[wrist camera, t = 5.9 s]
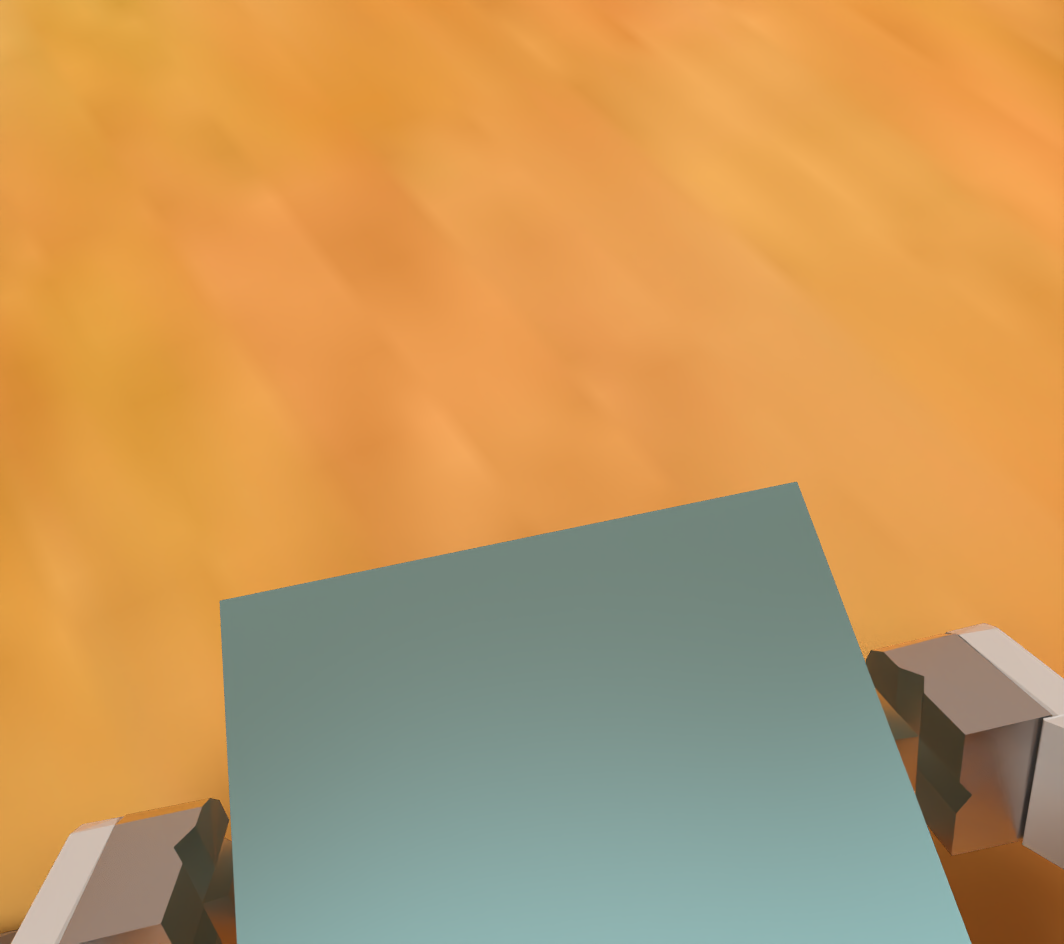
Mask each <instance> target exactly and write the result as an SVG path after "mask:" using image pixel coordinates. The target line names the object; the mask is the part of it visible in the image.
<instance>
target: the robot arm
mask: <svg viewBox="0 0 1064 944" xmlns="http://www.w3.org/2000/svg"><path fill="white" fill-rule="evenodd" d="M866 666H867V668H868V671H869V674H870V676H871V679H872V682H873V684H874V687H875V690H876V692H877V695H878V698H879V700H880V703H881V705H882V708H883V711H884V713H885V716H886V719H887V721H888V724H889V727H890V729H891V732H892V735H893V737H894V740H895V742H896V745H897V748H898V750H899V753H900V756H901V758H902V761H903V764H904V766H905V769H906V772H907V774H908V777H909V780H910V782H911V785H912V787H913V790H914V791H915V795H916V798H917V801H918V803H919V806H920V809H921V811H922V814H923V817H924V819H925V822H926V824H927V825H928V827H929V828H930V829H931V830H932V832H933V833H934V834H935V835H936V837H937V838H938V839H939V840H940V842H941V843H942V844H943V846H944V847H945V848H946V849H947V851H948V852H949V853H950V854H951V856H953V855H957V854H962V853H967V852H971V851H976V850H981V849H985V848H990V847H994V846H999V845H1004V844H1008V843H1013V842H1018V841H1022V840H1023V843H1022V845H1024V846H1025V847H1027V848H1029V849H1030V850H1032V851H1034V852H1035V853H1037V854H1039V855H1040V856H1042V857H1044V858H1046V859H1047V860H1049V861H1051V862H1052V863H1054V864H1056V865H1057V866H1059V867H1061V868H1062V869H1064V679H1063V678H1062V677H1061V676H1059V675H1058V674H1057V673H1056V672H1054V671H1053V670H1052V669H1050V668H1049V667H1048V666H1046V665H1045V664H1044V663H1043V662H1041V661H1040V660H1039V659H1037V658H1036V657H1035V656H1034V655H1032V654H1031V653H1030V652H1028V651H1027V650H1026V649H1024V648H1023V647H1022V646H1021V645H1019V644H1018V643H1017V642H1015V641H1014V640H1013V639H1012V638H1010V637H1009V636H1008V635H1006V634H1005V633H1004V632H1002V631H1001V630H1000V629H999V628H997V627H995V626H992V625H989V624H986V623H983V624H978V625H974V626H970V627H966V628H962V629H958V630H954V631H949V632H946V633H945V634H939V635H935V636H930V637H926V638H922V639H917V640H913V641H909V642H904V643H900V644H896V645H892V646H887V647H883V648H879V649H874V650H871V651H870V653H869V655H868V657H867V659H866ZM228 822H229V819H228V817H227V815H226V813H225V811H224V809H223V807H222V805H221V803H220V801H219V800H216V799H211V798H208V799H203V800H198V801H193V802H188V803H183V804H178V805H173V806H168V807H163V808H158V809H153V810H148V811H143V812H138V813H133V814H128V815H125V816H124V817H118V818H113V819H108V820H102V821H97V822H92V823H87V824H82V825H81V826H80V827H78V828H77V829H76V830H75V831H74V832H72V833H71V834H70V835H69V837H68V838H67V840H66V842H65V844H64V846H63V848H62V850H61V851H60V853H59V855H58V857H57V859H56V861H55V863H54V864H53V866H52V868H51V870H50V872H49V874H48V875H47V877H46V879H45V881H44V883H43V885H42V887H41V888H40V890H39V892H38V894H37V896H36V898H35V900H34V901H33V903H32V905H31V907H30V909H29V911H28V913H27V914H26V916H25V918H24V920H23V922H22V924H21V926H20V927H19V929H18V931H17V933H16V935H15V937H14V939H13V940H12V942H11V944H237V933H236V914H235V894H234V874H233V854H232V842H231V841H229V840H228V839H226V838H224V836H225V833H226V829H227V826H228Z"/></svg>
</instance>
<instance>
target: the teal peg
mask: <svg viewBox="0 0 1064 944" xmlns="http://www.w3.org/2000/svg"><path fill="white" fill-rule="evenodd" d="M220 617H221V637H222V657H223V677H224V696H225V716H226V736H227V756H228V775H229V795H230V815H231V835H232V854H233V874H234V894H235V914H236V933H237V944H971V941H970V938H969V936H968V933H967V930H966V928H965V925H964V922H963V920H962V917H961V914H960V912H959V909H958V906H957V904H956V901H955V899H954V896H953V893H952V891H951V888H950V885H949V883H948V880H947V877H946V875H945V872H944V869H943V867H942V864H941V862H940V859H939V856H938V854H937V851H936V848H935V846H934V843H933V840H932V838H931V835H930V832H929V830H928V827H927V824H926V822H925V819H924V817H923V814H922V811H921V809H920V806H919V803H918V801H917V798H916V795H915V793H914V790H913V787H912V785H911V782H910V780H909V777H908V774H907V772H906V769H905V766H904V764H903V761H902V758H901V756H900V753H899V750H898V748H897V745H896V742H895V740H894V737H893V735H892V732H891V729H890V727H889V724H888V721H887V719H886V716H885V713H884V711H883V708H882V705H881V703H880V700H879V698H878V695H877V692H876V690H875V687H874V684H873V682H872V679H871V676H870V674H869V671H868V668H867V666H866V663H865V660H864V658H863V655H862V653H861V650H860V647H859V645H858V642H857V639H856V637H855V634H854V631H853V629H852V626H851V623H850V621H849V618H848V616H847V613H846V610H845V608H844V605H843V602H842V600H841V597H840V594H839V592H838V589H837V586H836V584H835V581H834V578H833V576H832V573H831V571H830V568H829V565H828V563H827V560H826V557H825V555H824V552H823V549H822V547H821V544H820V541H819V539H818V536H817V534H816V531H815V528H814V526H813V523H812V520H811V518H810V515H809V512H808V510H807V507H806V504H805V502H804V499H803V496H802V494H801V491H800V489H799V486H798V483H797V482H793V483H788V484H783V485H778V486H774V487H769V488H764V489H759V490H754V491H749V492H745V493H740V494H735V495H730V496H725V497H720V498H716V499H711V500H706V501H701V502H696V503H691V504H686V505H682V506H677V507H672V508H667V509H662V510H657V511H653V512H648V513H643V514H638V515H633V516H628V517H624V518H619V519H614V520H609V521H604V522H599V523H594V524H590V525H585V526H580V527H575V528H570V529H565V530H561V531H556V532H551V533H546V534H541V535H536V536H531V537H527V538H522V539H517V540H512V541H507V542H502V543H498V544H493V545H488V546H483V547H478V548H473V549H469V550H464V551H459V552H454V553H449V554H444V555H440V556H435V557H430V558H425V559H420V560H415V561H410V562H406V563H401V564H396V565H391V566H386V567H381V568H377V569H372V570H367V571H362V572H357V573H352V574H347V575H343V576H338V577H333V578H328V579H323V580H318V581H314V582H309V583H304V584H299V585H294V586H289V587H285V588H280V589H275V590H270V591H265V592H260V593H255V594H251V595H246V596H241V597H236V598H231V599H226V600H222V601H220Z"/></svg>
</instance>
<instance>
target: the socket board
mask: <svg viewBox="0 0 1064 944" xmlns="http://www.w3.org/2000/svg"><path fill="white" fill-rule="evenodd" d="M17 931H18V930H14V931H10V932H6V933H2V934H0V944H11V942H12V940H13V939H14V937H15V935H16V933H17Z"/></svg>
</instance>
